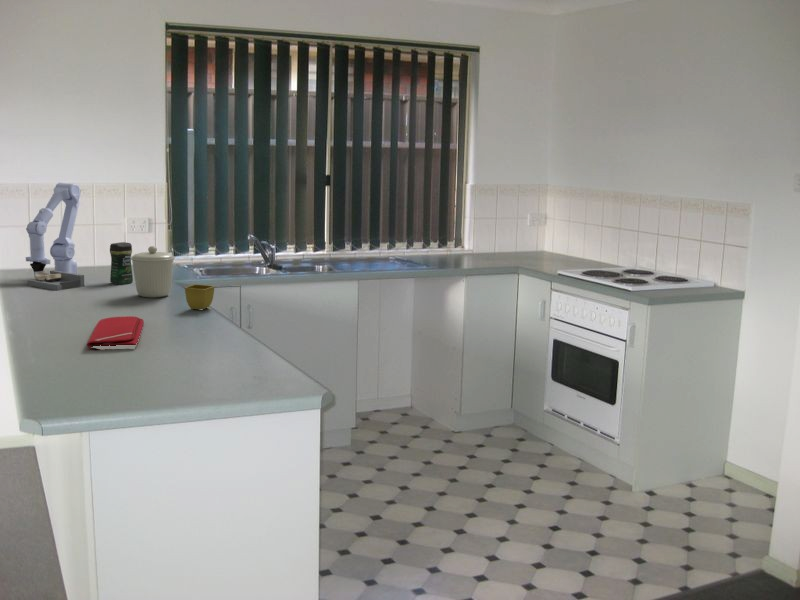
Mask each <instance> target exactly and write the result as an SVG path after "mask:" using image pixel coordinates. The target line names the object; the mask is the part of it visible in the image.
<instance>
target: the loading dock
mask: <svg viewBox="0 0 800 600" xmlns="http://www.w3.org/2000/svg"><path fill="white" fill-rule="evenodd" d="M50 274H61V278H60V280H59V281H56V280H55V279H52V281H51V282H45V281H44V280H42V281H37V280H35V279H27V280H26V286H28V287H29V286H31V287H36V288H41V289H48V290H54V291H62V290H63V291H64V290H69V289H74V288H81V287H85V275H84V274H79V273H77V274H74V273H68V272H61V271H55V269H53V270H52V269H51V270H49V275H50Z"/></svg>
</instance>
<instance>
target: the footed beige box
mask: <svg viewBox="0 0 800 600" xmlns="http://www.w3.org/2000/svg"><path fill="white" fill-rule="evenodd" d="M33 276H34V280H37V281H44V282H51V281H52V279H55V280H56V281H59V280H60V278H61V274H50V270H48V269H47V270H43V271H39V272H34V271H33Z"/></svg>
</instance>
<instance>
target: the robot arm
mask: <svg viewBox="0 0 800 600" xmlns="http://www.w3.org/2000/svg"><path fill="white" fill-rule="evenodd" d="M81 192H82V189H80V186H79V184H77V183H65V182H58V183H57V184H56V185H55V186H54V188H53V194H52V196H51V197H50V199H49V200H48V203H47V204H46V206H45V207H43V208H41V209H39V211H38V213H37V214H36V216H35V217H34V219H32V221H30V222H28V224H27V226H26V228H25V230H26V232H27V234H28V238H29V244H30V247H29V249H30V256H26V257H25V262H31V263H30V264H29V265H30V266H31V268H32V271H33V273H34V272H39V271H45V268H46V266H47V265H51V259H50V258H46V257H45V254H46V253H45V241H44V239H45V237H44V234H45V233H47V227H48V224H49V222H50V221H51V220H52V218H53V217H54V214H53V212H54V211H55V210H56V208H57V207H58V205H60V203H61V202H64V204H65V208H64V213H63V216H62V222H61V225H60V230H59V234H58V237H57V238H56V239H54V240H53V243H52V245H51V247H50V249H49V253H50V256H51V257H52V259H53V260H54V270H55V271H61V272H68V273H74V274H78V264H77V261H76V260H75V258H74V257H75V243H74V242H73V241H72V238H73V232H74V228H75V225H76V219H77V216H78V215H77V214H78V211H79V210H78V209H79V206H80V197H81Z"/></svg>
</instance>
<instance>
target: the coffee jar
mask: <svg viewBox="0 0 800 600" xmlns="http://www.w3.org/2000/svg"><path fill="white" fill-rule="evenodd" d="M132 247H133V246H132V243H130V242H125V241H123V242H114V243H110V245H109V253H110V259H111V260H110V263H111V264H110V277H109V278H110V279H109V282H110V283H111V284H112V285H126V284H132V283H133V282H134V277H133V275H134V274H133V265H132V260H131V259H130V257H132V254H133V248H132Z"/></svg>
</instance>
